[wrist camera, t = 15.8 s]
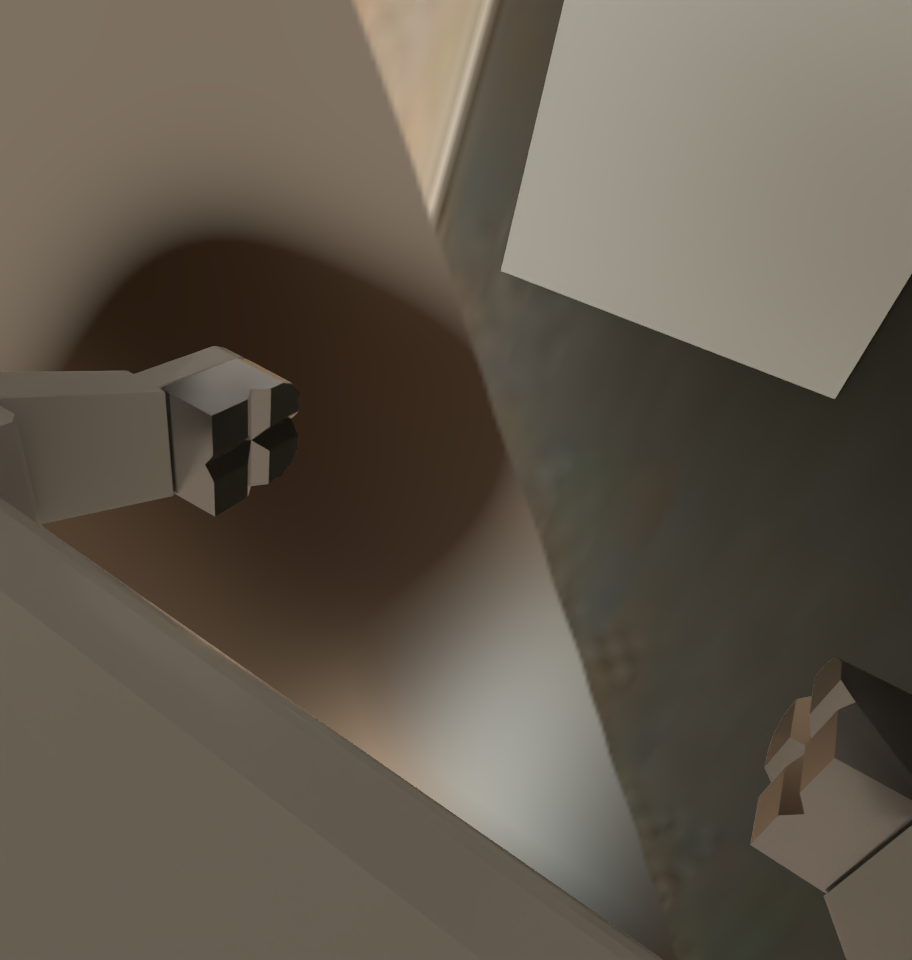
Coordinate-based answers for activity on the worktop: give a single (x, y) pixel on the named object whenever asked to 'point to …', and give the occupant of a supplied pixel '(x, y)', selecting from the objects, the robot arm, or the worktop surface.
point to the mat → (727, 174)
